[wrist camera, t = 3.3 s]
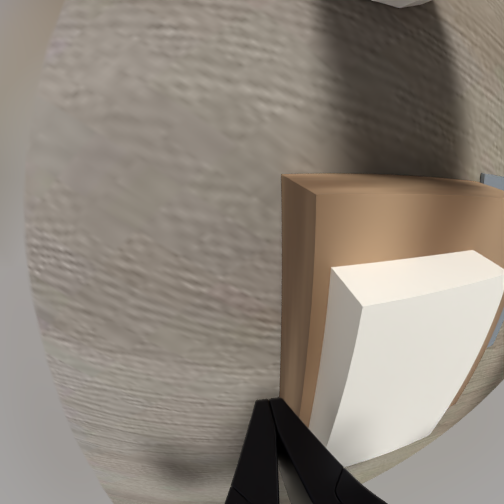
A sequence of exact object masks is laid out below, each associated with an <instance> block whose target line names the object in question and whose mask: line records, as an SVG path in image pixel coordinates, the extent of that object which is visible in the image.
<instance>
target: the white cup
mask: <svg viewBox="0 0 504 504" xmlns="http://www.w3.org/2000/svg"><path fill="white" fill-rule="evenodd" d="M372 1H376V2H379V3H383V4H387V5H390V6H394V7H397V8H403V7H409V6H416V5H421V4H424V3H426V2H429V1H432V0H372Z"/></svg>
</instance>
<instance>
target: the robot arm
mask: <svg viewBox="0 0 504 504" xmlns="http://www.w3.org/2000/svg"><path fill="white" fill-rule="evenodd" d="M278 466H279V469H280V472H281V475H282V478H283V481H284V484H285V487H286V490H287V493H288V496H289V499H290V502H291V504H387V503H386V502H385V501H383V500H382V499H380V498H379V497H377V496H376V495H375V494H373V493H372V492H371V491H369V490H368V489H367V488H366V487H364V486H363V485H362V484H361V483H360V482H359V481H358V480H357V479H356V478H354V477H353V476H352V475H351V474H350V473H349V472H348V471H347V470H346V468H343V466H342V464H341V463H340V462H339V461H338V460H337V459H336V458H335V457H334V456H333V455H332V454H331V453H330V452H329V451H328V450H327V448H326V447H325V446H324V445H323V444H322V443H321V442H320V441H319V440H318V439H317V437H316V436H315V435H314V434H313V433H312V432H311V431H310V430H309V428H308V427H307V426H306V425H305V424H304V423H303V422H302V420H301V419H300V418H299V417H298V416H297V415H296V414H295V412H294V411H293V410H292V409H291V408H290V407H289V405H288V404H287V403H286V402H285V401H284V399H283V398H281V397H277V398H271V399H269V400H268V399H262V400H257V401H256V402H255V405H254V409H253V412H252V416H251V420H250V423H249V427H248V430H247V434H246V437H245V441H244V444H243V447H242V451H241V454H240V457H239V461H238V464H237V467H236V471H235V474H234V477H233V480H232V484H231V487H230V489H229V492H228V496H227V498H226V501H225V504H279V480H278Z"/></svg>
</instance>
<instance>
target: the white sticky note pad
mask: <svg viewBox="0 0 504 504" xmlns="http://www.w3.org/2000/svg"><path fill="white" fill-rule="evenodd" d="M503 292H504V269H503V268H501V267H500V266H498V265H497V264H495V263H494V262H492V261H490V260H489V259H487V258H486V257H484V256H482V255H481V254H479V253H477V252H476V251H474V250H469V251H462V252H454V253H447V254H439V255H432V256H424V257H416V258H408V259H400V260H392V261H383V262H375V263H366V264H357V265H348V266H339V267H331V274H330V285H329V296H328V305H327V314H326V323H325V331H324V339H323V346H322V353H321V360H320V367H319V373H318V379H317V385H316V391H315V397H314V403H313V408H312V413H311V418H310V423H309V430H310V431H311V432H312V433H313V434H314V435H315V436H316V437H317V439H318V440H319V441H320V442H321V443H322V444H323V445H324V446H325V447H326V448H327V450H328V451H329V452H330V453H331V454H332V455H333V456H334V457H335V458H336V459H337V460H338V461H339V462H340V463H341V464H342V466H343V467H347V466H350V465H353V464H357V463H360V462H363V461H366V460H369V459H372V458H375V457H378V456H380V455H383V454H386V453H389V452H391V451H394V450H396V449H399V448H401V447H404V446H406V445H408V444H411V443H413V442H415V441H417V440H420V439H422V438H424V437H426V436H428V435H430V433H431V432H432V430H433V429H434V428H435V426H436V425H437V423H438V422H439V420H440V419H441V418H442V416H443V415H444V413H445V412H446V410H447V408H448V407H449V405H450V404H451V402H452V401H453V399H454V397H455V396H456V394H457V392H458V391H459V389H460V387H461V386H462V384H463V382H464V380H465V378H466V377H467V375H468V373H469V371H470V369H471V367H472V365H473V363H474V361H475V360H476V358H477V355H478V353H479V351H480V349H481V347H482V345H483V343H484V341H485V338H486V336H487V334H488V332H489V329H490V327H491V324H492V322H493V319H494V317H495V314H496V312H497V309H498V306H499V304H500V301H501V298H502V295H503Z"/></svg>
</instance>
